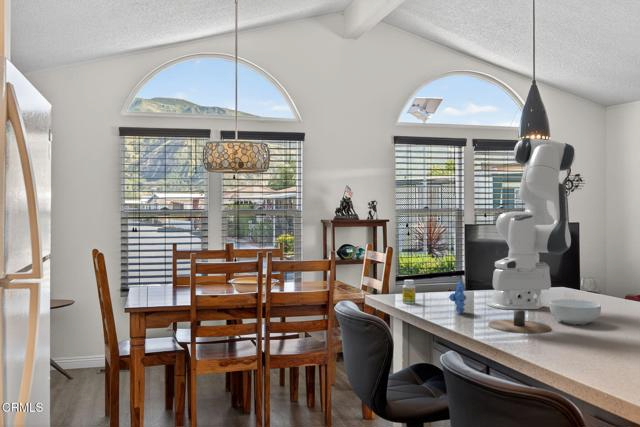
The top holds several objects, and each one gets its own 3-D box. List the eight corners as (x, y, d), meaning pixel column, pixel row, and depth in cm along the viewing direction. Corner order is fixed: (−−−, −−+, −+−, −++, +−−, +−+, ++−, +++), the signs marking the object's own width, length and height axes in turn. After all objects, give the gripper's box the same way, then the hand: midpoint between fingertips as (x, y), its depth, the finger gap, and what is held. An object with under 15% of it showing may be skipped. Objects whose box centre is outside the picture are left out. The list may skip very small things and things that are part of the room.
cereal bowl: (538, 320, 217) (539, 300, 217) (573, 316, 223) (573, 298, 223) (575, 328, 201) (576, 307, 201) (611, 325, 208) (612, 305, 208)
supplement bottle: (416, 302, 255) (416, 279, 255) (414, 304, 250) (414, 281, 250) (403, 301, 256) (403, 279, 256) (401, 303, 251) (401, 280, 251)
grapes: (448, 310, 236) (448, 279, 236) (465, 310, 235) (466, 280, 235) (448, 315, 225) (449, 283, 225) (467, 315, 223) (467, 283, 223)
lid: (507, 335, 191) (507, 316, 191) (478, 323, 211) (478, 306, 211) (563, 333, 196) (563, 314, 196) (529, 321, 215) (529, 305, 215)
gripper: (543, 261, 208) (543, 301, 208) (490, 262, 203) (490, 303, 203) (554, 262, 202) (554, 303, 202) (499, 263, 197) (499, 305, 197)
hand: (522, 303), depth 202 cm, fingers open, 8 cm apart
